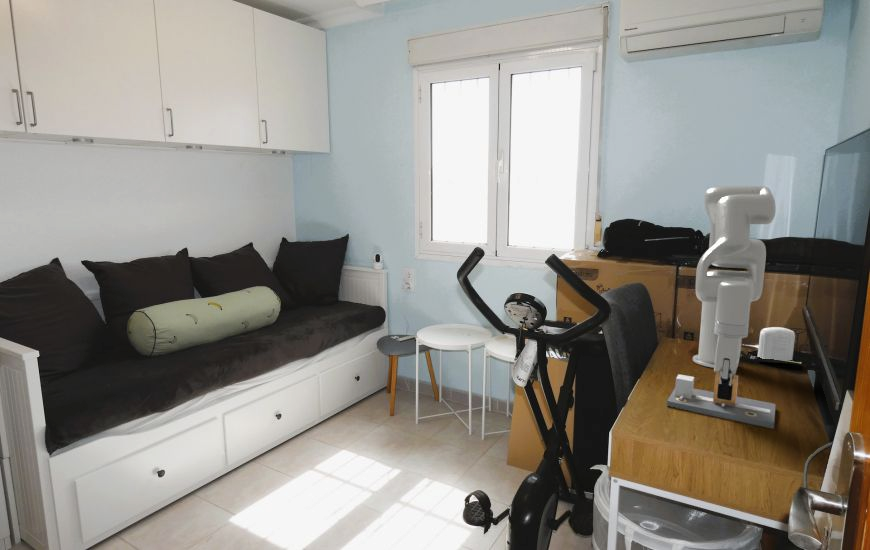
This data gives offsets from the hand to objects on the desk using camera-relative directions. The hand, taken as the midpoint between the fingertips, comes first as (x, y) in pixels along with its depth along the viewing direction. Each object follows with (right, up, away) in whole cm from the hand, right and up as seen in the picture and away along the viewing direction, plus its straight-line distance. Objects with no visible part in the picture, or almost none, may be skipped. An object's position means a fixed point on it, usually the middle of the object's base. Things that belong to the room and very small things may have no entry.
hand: (725, 395), depth 135 cm
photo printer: (+38, +2, +38) cm, 54 cm away
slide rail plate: (-1, -4, +1) cm, 4 cm away
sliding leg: (-1, -2, -1) cm, 2 cm away
